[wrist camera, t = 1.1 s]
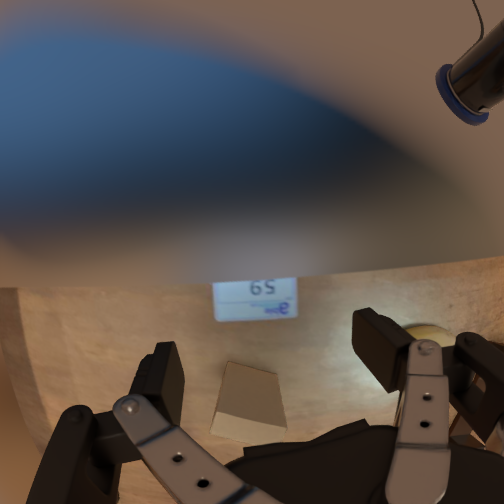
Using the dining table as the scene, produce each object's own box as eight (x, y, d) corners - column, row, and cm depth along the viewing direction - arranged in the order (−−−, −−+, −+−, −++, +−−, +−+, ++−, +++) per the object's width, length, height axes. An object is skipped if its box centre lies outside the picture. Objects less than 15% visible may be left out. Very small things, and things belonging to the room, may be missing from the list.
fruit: (386, 308, 29) (399, 313, 26) (465, 336, 29) (480, 341, 26) (362, 365, 29) (373, 375, 26) (445, 383, 29) (458, 391, 26)
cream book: (228, 361, 29) (216, 411, 18) (277, 374, 29) (287, 427, 18) (222, 379, 29) (208, 433, 18) (270, 391, 29) (277, 449, 18)
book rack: (488, 340, 29) (542, 359, 17) (505, 344, 29) (555, 361, 17) (423, 469, 29) (454, 509, 17) (445, 466, 29) (476, 500, 17)
